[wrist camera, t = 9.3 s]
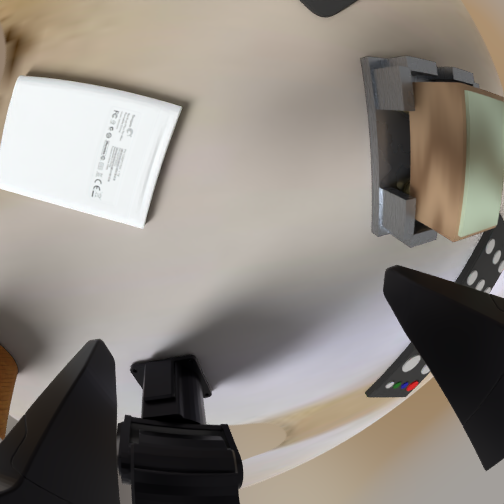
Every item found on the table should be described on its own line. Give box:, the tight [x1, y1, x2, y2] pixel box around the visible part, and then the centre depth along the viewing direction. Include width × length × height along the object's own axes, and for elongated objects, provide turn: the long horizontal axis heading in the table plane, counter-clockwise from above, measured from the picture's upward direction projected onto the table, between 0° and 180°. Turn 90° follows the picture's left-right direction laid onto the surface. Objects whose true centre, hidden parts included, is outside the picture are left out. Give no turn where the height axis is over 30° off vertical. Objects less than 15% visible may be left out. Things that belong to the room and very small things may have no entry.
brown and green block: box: [409, 82, 504, 242], centre depth 15 cm, size 10×6×5 cm, turn 8°
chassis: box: [360, 56, 479, 248], centre depth 18 cm, size 14×10×4 cm
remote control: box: [365, 213, 504, 397], centre depth 31 cm, size 11×30×2 cm, turn 151°
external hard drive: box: [0, 75, 182, 229], centre depth 14 cm, size 2×8×12 cm
